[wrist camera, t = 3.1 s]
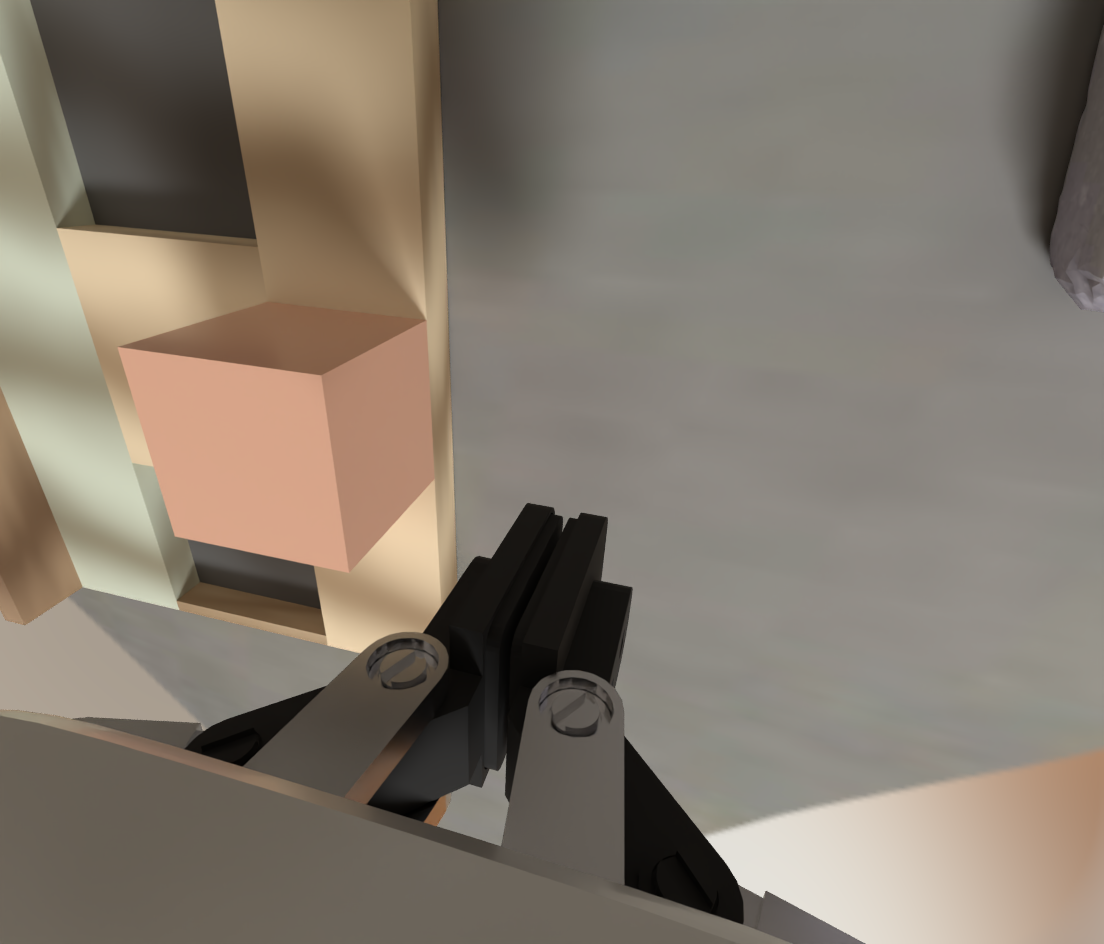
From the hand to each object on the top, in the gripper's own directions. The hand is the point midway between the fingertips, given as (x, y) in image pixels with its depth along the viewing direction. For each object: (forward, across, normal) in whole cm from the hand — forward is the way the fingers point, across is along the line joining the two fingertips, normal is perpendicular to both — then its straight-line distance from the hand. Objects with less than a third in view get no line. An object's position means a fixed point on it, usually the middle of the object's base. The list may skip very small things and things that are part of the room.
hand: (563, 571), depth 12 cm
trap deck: (+7, +14, -1) cm, 16 cm away
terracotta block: (+5, +8, -1) cm, 10 cm away
